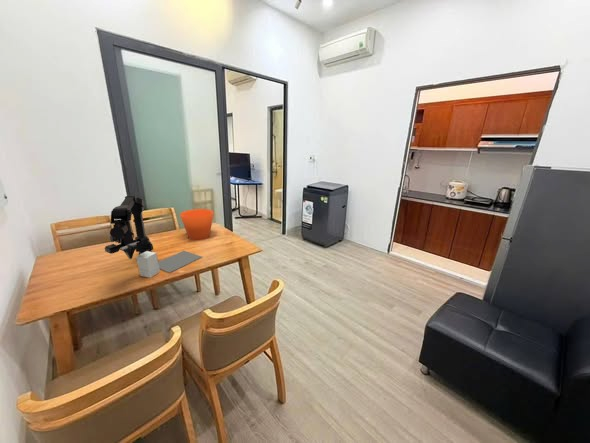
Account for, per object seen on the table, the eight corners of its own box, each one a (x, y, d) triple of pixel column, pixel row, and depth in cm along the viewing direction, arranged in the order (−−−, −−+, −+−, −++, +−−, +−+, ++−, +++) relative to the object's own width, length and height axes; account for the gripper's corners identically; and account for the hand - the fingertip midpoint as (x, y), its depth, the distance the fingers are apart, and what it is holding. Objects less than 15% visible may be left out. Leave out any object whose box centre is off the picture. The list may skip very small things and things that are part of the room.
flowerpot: (208, 229, 212) (207, 207, 206) (220, 237, 194) (218, 214, 188) (178, 234, 197) (175, 211, 191) (188, 244, 179) (185, 219, 173)
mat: (184, 251, 168) (184, 250, 168) (202, 257, 160) (202, 256, 160) (150, 265, 148) (150, 264, 148) (169, 273, 140) (169, 272, 140)
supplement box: (160, 271, 142) (157, 252, 138) (150, 278, 135) (146, 258, 131) (150, 269, 144) (146, 250, 140) (139, 276, 137) (135, 256, 133)
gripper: (135, 224, 135) (139, 249, 140) (96, 233, 119) (102, 261, 124) (146, 227, 130) (151, 253, 135) (107, 238, 114) (114, 267, 119)
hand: (130, 258), depth 128 cm, fingers closed
